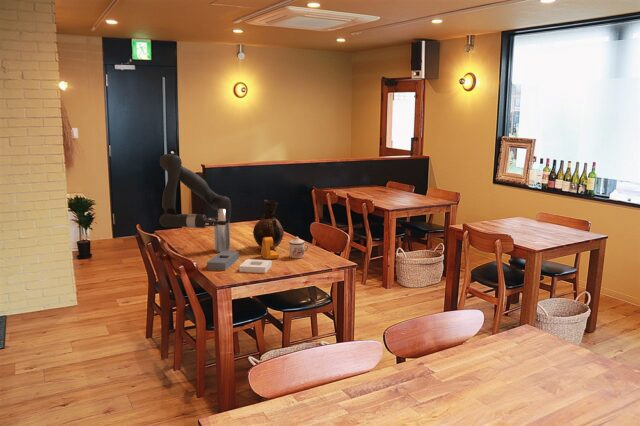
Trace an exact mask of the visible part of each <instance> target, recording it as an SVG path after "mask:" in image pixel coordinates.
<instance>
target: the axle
mask: <svg viewBox="0 0 640 426" xmlns="http://www.w3.org/2000/svg"><path fill="white" fill-rule="evenodd" d="M217 216H218V221H226V212H225V209H218V211H217ZM218 237H219V241H225V240H226V225H218Z"/></svg>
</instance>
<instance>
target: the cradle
mask: <svg viewBox="0 0 640 426" xmlns="http://www.w3.org/2000/svg"><path fill="white" fill-rule="evenodd" d="M272 262H273V261H272V260H271V259H253V258H252V259H249V258H247V259H245V261H243V262H242V263H241V264H240V265H239V268H238V269H239V272H240V273H256V274H257V273H259V274H266V273H267V272H268V270H270V268H271V267H272V266H273V265H272V264H273V263H272Z"/></svg>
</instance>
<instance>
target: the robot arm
mask: <svg viewBox="0 0 640 426" xmlns="http://www.w3.org/2000/svg"><path fill="white" fill-rule="evenodd" d="M159 165H160V167H161V168H162V170H164V171H166V172H167V175H168V176H167V181H166V184H165V187H164V189H163V191H162V192H163V193H162V200H161V201H162V202H161V205H162V209H164V214H162V215H160V217H159V219H158V220H159V221H158V222H159V224H160V225H161V226H162V227H165V228H176V227H178V228H179V227H181V228H183V227H184V228H192V229H205V228H206V227H213V232H214V233H213V236H214V240H213V241H214V252H216V253H220V252H221V251H231V229H230V226H231V225H230V224H231V223H230V221H231V218H232V217H231V216H232V202H231V200H230V198H229V197H228V196H223V195H219V194H218V193H216V192H214V191H213V190H212V189H211V188H210V187H209V185H208V183H207V181H206V180H205V179H203V178H202V177H201V176H200V175H198V174H197V173H195V172H194V171H192V170H190V169H188V168H186V167H184V166H183V164H182V159H181V157H180V156H179V155H177V154H171V153H165V154H163V155H161V156H160V158H159ZM179 182H180V183H182V184H183V185H184V186H186V188H188V189H189V190H190V191H191V192H193V193H194V194H196V195H197V196H198V197H200V198H201V199H203V201H205V202H206V203H207V204H208V206H210V207H211V209H212V210H214V211H217V212H218V209H225V212H226V221H218V215H217V216H216V217H215V216H213V217H211V216H210V217H207V215H206V214H204V213H203V214H199V213H190V214H188V213H187V214H186V213H180V214H177V210H176V202H177V201H176V199H177V188H178V183H179ZM218 225H226V240H225V241H219V237H218Z"/></svg>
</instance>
